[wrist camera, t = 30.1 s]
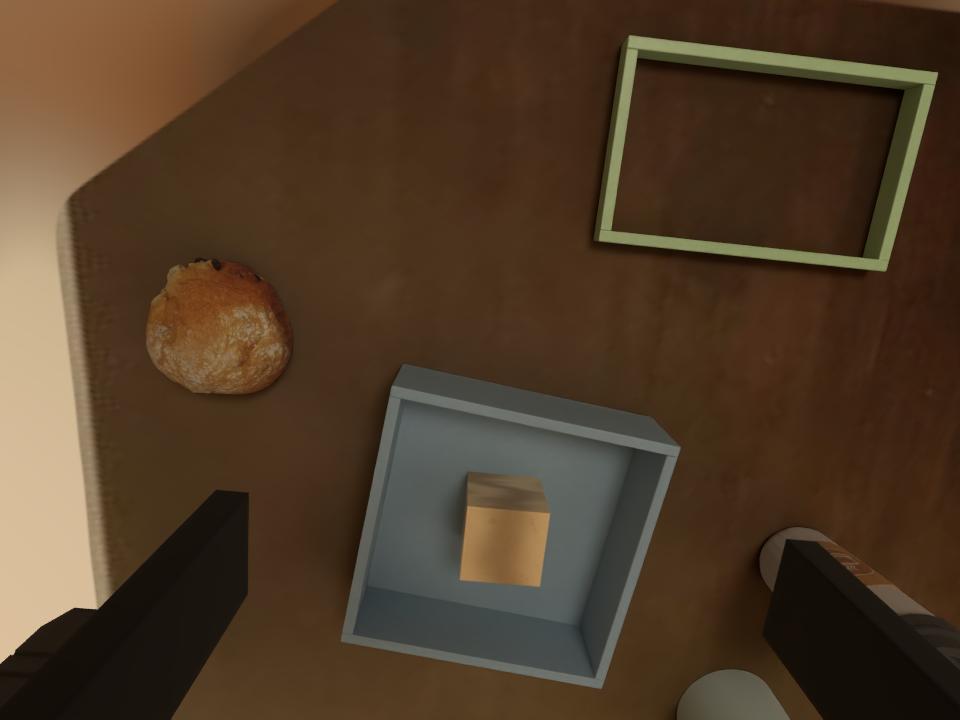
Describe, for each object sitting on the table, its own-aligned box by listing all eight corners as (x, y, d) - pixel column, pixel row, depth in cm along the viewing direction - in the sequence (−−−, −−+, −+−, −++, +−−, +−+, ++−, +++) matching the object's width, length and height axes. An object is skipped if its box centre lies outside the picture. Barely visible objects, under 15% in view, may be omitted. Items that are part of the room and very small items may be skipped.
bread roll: (195, 359, 47) (156, 426, 41) (144, 249, 41) (88, 309, 34) (312, 352, 47) (290, 418, 41) (279, 241, 41) (248, 299, 34)
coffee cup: (844, 510, 47) (1011, 635, 33) (836, 596, 49) (990, 750, 35) (747, 516, 47) (870, 643, 33) (742, 601, 49) (857, 758, 35)
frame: (593, 240, 42) (598, 241, 40) (621, 43, 39) (629, 34, 37) (869, 270, 43) (886, 271, 41) (918, 79, 40) (938, 72, 38)
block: (460, 536, 47) (459, 580, 41) (467, 471, 45) (467, 506, 40) (531, 542, 47) (539, 587, 41) (540, 477, 46) (550, 513, 40)
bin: (403, 363, 44) (391, 385, 37) (651, 417, 45) (681, 447, 39) (357, 588, 48) (340, 641, 42) (585, 631, 50) (601, 689, 43)
